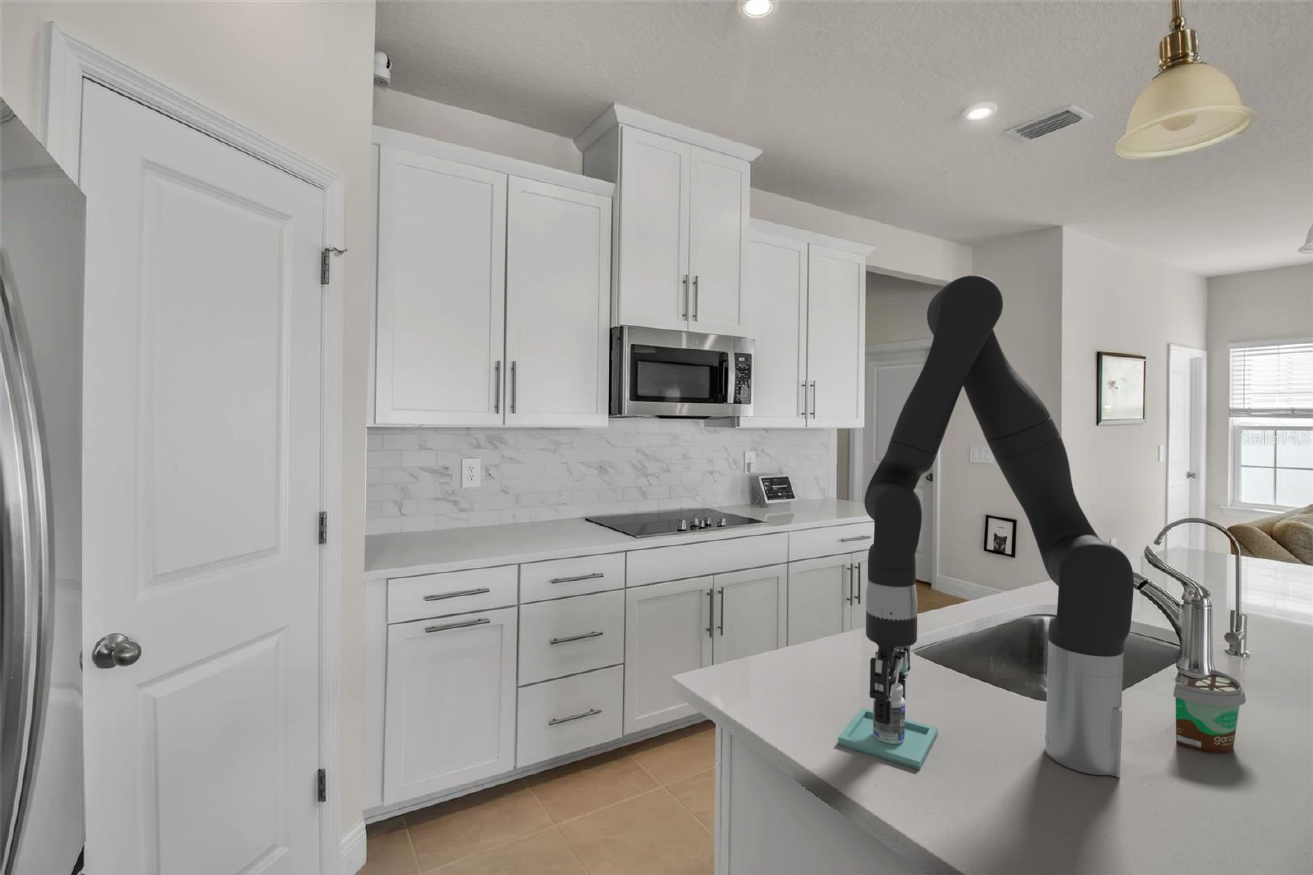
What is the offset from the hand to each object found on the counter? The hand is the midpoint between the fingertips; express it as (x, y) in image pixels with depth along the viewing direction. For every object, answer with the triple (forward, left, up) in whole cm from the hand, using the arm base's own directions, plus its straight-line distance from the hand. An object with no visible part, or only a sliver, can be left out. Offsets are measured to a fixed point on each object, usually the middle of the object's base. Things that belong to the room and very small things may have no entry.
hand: (890, 711), depth 99 cm
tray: (0, 0, -5) cm, 5 cm away
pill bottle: (0, 0, -4) cm, 4 cm away
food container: (-42, -27, -5) cm, 50 cm away
